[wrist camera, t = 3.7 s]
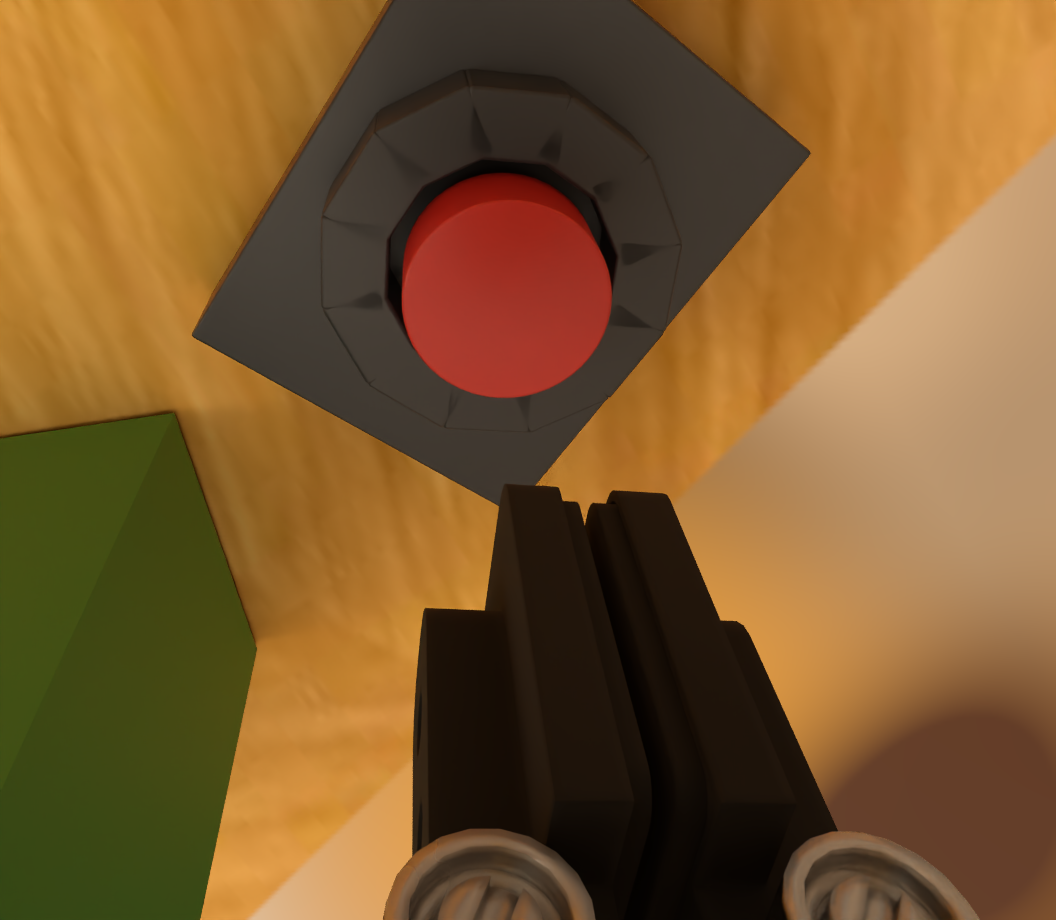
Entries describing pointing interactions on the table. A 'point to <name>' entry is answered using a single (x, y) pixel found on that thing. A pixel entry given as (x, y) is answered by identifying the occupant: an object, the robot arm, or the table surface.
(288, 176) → the power block
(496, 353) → the power button
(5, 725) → the hardback book
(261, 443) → the table surface
